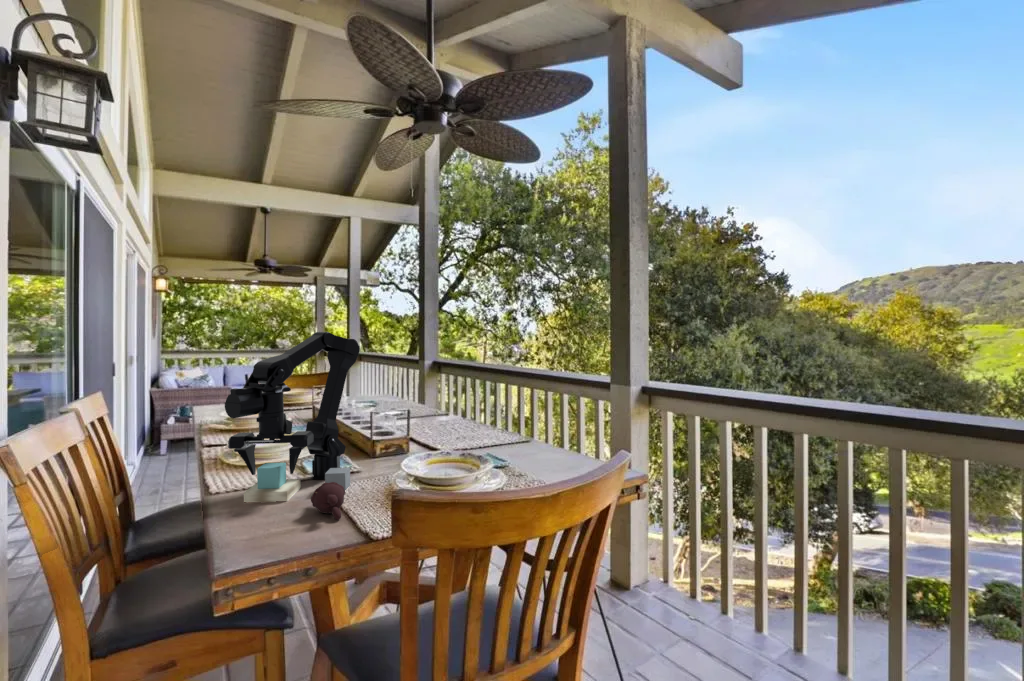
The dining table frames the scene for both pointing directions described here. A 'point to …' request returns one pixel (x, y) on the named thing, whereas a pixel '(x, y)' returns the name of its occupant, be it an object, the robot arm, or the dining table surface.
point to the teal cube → (271, 475)
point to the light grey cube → (338, 476)
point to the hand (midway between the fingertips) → (272, 474)
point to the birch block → (272, 492)
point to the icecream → (329, 498)
